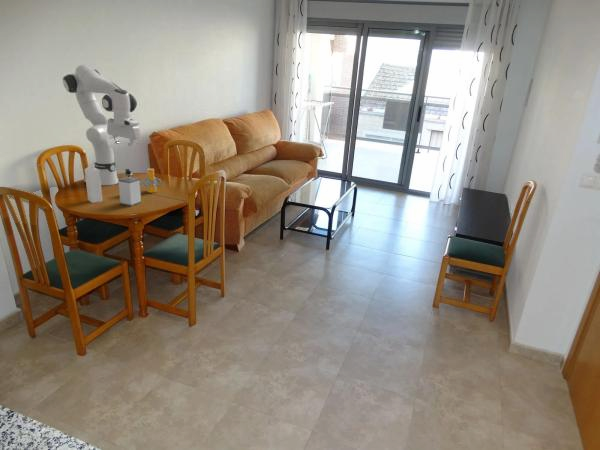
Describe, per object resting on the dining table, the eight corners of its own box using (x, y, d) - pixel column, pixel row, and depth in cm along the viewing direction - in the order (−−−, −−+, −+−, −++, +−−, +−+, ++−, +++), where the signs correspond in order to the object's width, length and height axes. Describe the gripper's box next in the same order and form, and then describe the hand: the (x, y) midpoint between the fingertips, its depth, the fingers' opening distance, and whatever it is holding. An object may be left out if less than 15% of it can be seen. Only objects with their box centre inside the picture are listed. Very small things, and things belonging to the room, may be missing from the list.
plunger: (123, 201, 243) (120, 169, 236) (130, 199, 248) (127, 167, 241) (131, 203, 242) (128, 171, 235) (137, 200, 246) (135, 169, 239)
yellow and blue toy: (154, 195, 262) (153, 172, 257) (139, 193, 264) (137, 170, 259) (164, 190, 274) (163, 168, 268) (149, 188, 275) (148, 166, 270)
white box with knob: (120, 204, 243) (118, 179, 238) (135, 198, 254) (133, 175, 248) (131, 206, 241) (129, 181, 235) (145, 201, 251) (143, 177, 246)
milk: (98, 198, 249) (94, 162, 241) (102, 201, 246) (98, 164, 238) (87, 200, 245) (83, 164, 237) (92, 203, 241) (87, 166, 233)
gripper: (103, 118, 230) (105, 142, 235) (133, 123, 224) (134, 148, 229) (111, 117, 235) (113, 141, 241) (141, 122, 229) (142, 147, 235)
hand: (123, 145), depth 235 cm, fingers open, 8 cm apart
